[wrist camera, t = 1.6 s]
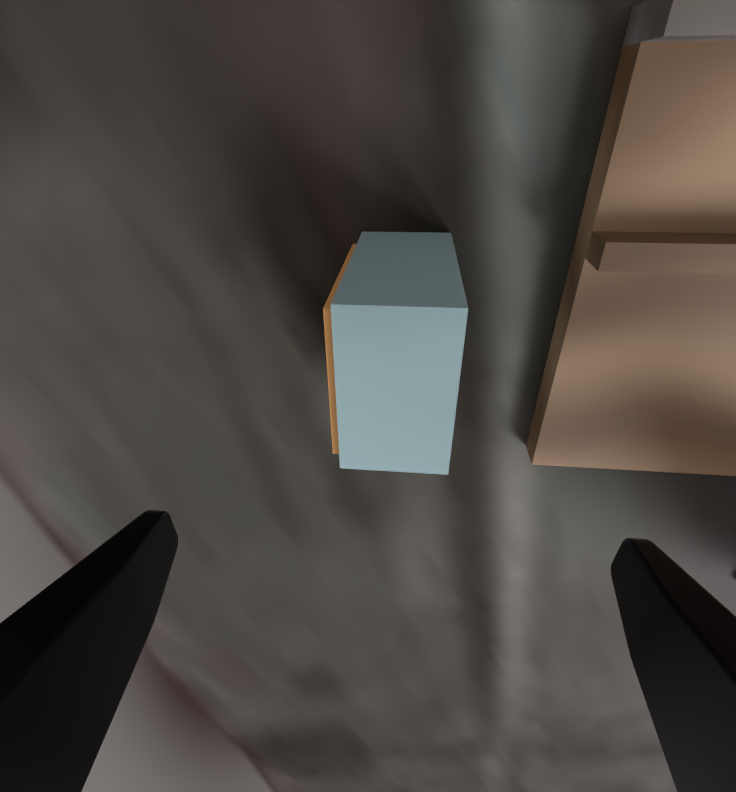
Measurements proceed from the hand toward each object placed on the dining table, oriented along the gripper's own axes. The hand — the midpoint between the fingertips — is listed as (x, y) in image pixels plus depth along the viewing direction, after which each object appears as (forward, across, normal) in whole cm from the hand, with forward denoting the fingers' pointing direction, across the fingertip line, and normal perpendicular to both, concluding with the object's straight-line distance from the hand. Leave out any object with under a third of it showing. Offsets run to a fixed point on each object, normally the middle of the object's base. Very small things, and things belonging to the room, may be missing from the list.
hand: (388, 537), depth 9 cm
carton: (+14, 0, +1) cm, 14 cm away
